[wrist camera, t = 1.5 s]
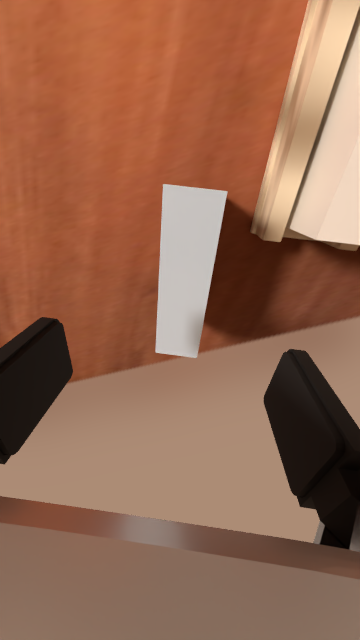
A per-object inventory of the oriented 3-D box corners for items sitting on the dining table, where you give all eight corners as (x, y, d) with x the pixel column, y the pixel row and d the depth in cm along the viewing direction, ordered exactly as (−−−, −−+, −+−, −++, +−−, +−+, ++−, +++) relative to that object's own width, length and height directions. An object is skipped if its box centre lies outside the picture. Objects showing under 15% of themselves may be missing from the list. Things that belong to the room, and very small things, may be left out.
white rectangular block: (178, 186, 19) (163, 183, 11) (217, 190, 19) (227, 191, 11) (169, 303, 25) (155, 352, 18) (198, 307, 25) (196, 357, 18)
